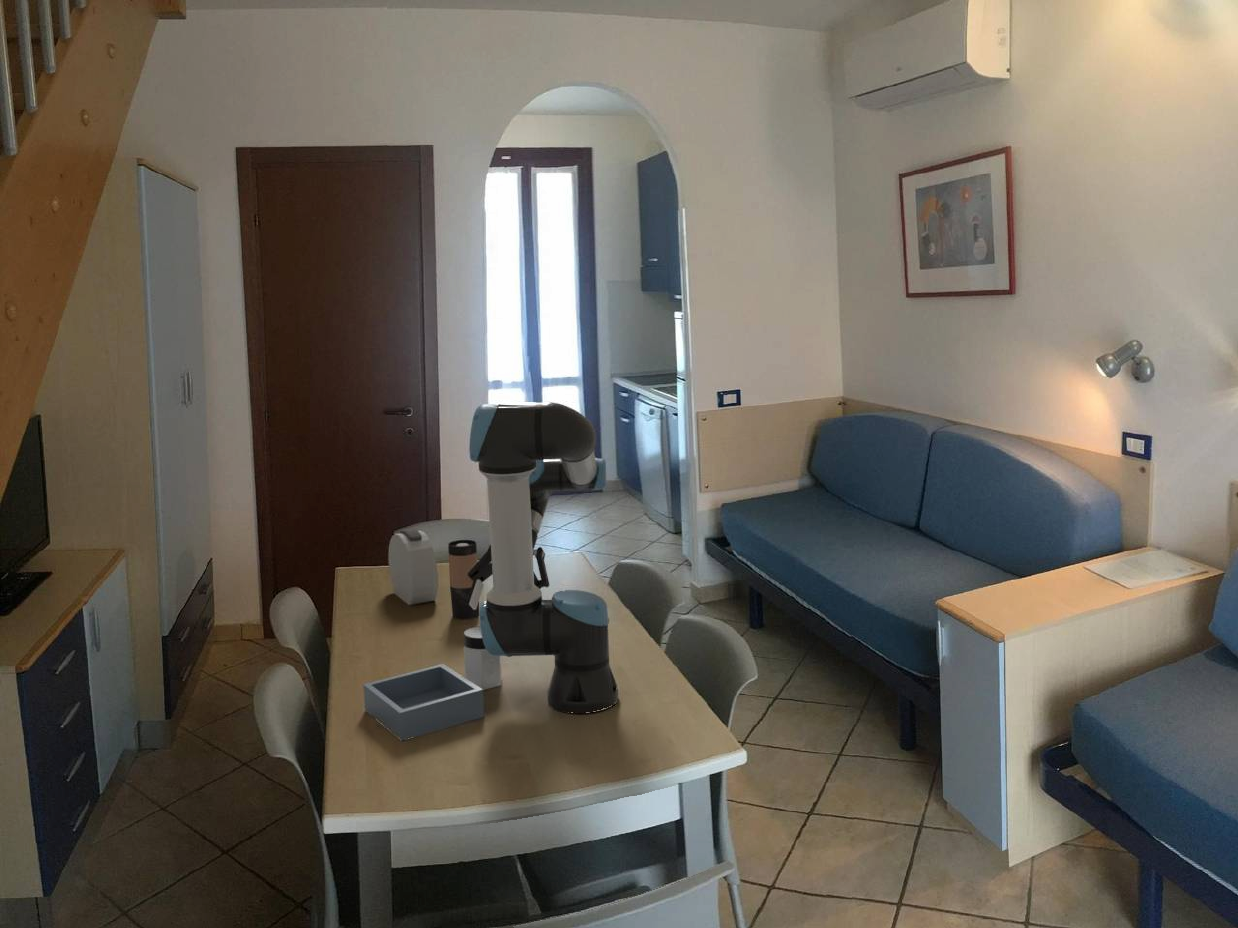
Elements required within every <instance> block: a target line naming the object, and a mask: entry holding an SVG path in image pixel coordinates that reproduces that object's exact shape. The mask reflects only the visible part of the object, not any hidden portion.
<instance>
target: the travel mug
mask: <svg viewBox="0 0 1238 928" xmlns="http://www.w3.org/2000/svg"><path fill="white" fill-rule="evenodd" d="M447 549H448V564H449V565H448V569H449V571H448V573H449V590H450V599H451V614H452V617H453V618H454V619H458V620H469V619H470V620H472V619H474V618H476V617H478V616H480V601H479V602H478V605H477V608H476V610H474V609H472V607H471V606H470V605H469V602H470V599H471V596H472V593H471V592H470V590H471V587H472V584H473V581H472V580H471V579H470V578H469V576H468V573H469V571H470V570H471V569H472V568H473V567H474V566H475V565H476V563H477V562H478V551H477V550H478V549H477V542H476V541H475V540H471V539H459V540H458V539H457V540H454V541H450V542H449V543H448V548H447Z"/></svg>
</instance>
